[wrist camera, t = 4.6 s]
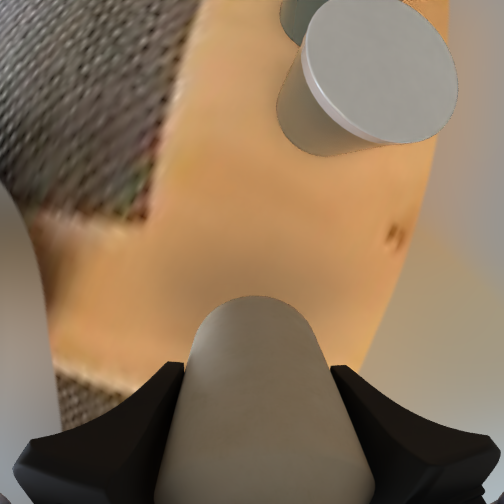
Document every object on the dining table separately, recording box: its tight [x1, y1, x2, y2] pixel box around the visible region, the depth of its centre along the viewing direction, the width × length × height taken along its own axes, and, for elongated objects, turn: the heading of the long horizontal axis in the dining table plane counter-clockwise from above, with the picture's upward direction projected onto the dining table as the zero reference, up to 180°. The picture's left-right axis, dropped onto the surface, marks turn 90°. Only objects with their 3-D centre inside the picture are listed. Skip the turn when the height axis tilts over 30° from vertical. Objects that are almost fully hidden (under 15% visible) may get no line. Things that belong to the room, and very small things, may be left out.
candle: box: [154, 296, 375, 504], centre depth 9 cm, size 6×6×10 cm
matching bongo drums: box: [276, 0, 458, 157], centre depth 13 cm, size 13×6×10 cm, turn 177°
